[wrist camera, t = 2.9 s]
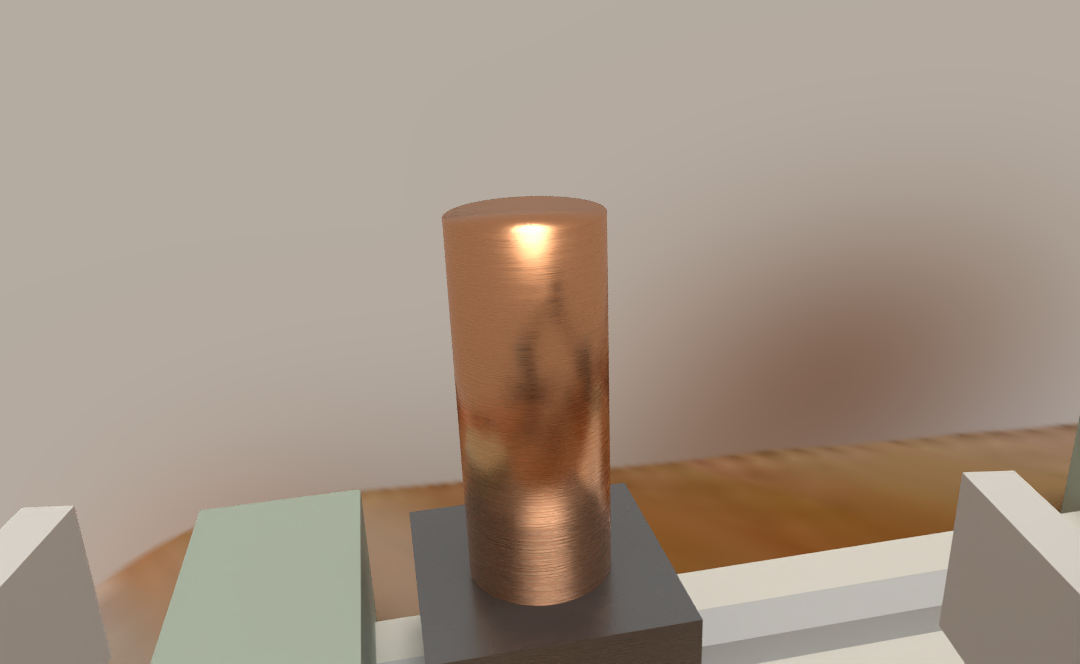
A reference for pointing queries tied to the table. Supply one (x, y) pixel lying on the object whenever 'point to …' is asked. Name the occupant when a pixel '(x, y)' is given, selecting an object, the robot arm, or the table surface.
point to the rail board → (397, 645)
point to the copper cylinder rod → (539, 460)
